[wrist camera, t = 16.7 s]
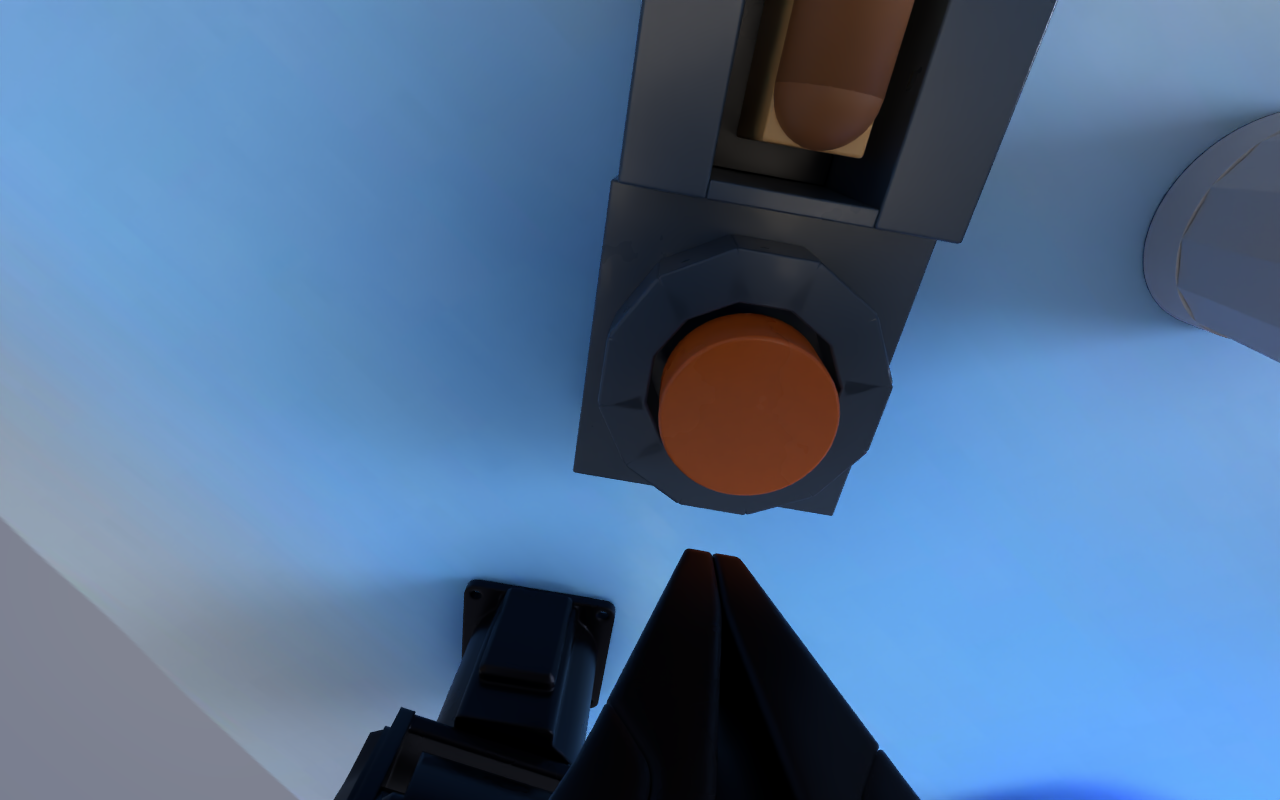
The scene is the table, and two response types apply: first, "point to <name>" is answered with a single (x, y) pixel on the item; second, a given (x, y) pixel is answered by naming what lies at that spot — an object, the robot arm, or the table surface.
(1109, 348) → the table surface
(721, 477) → the button
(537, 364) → the table surface
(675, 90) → the toaster
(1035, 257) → the table surface
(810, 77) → the tan slab
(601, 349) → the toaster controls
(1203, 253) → the cup
